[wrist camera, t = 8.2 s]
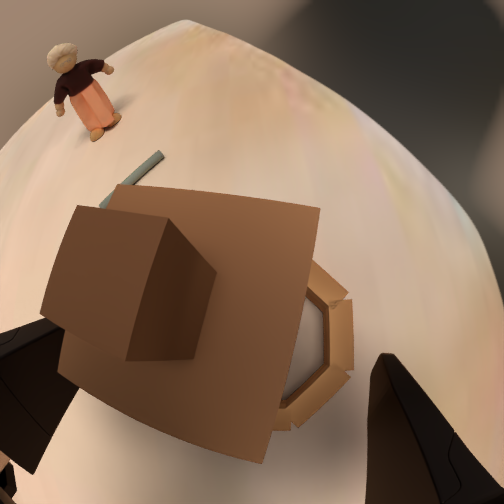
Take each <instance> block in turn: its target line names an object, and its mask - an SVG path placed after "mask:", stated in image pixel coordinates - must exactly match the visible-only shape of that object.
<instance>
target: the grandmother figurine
mask: <svg viewBox="0 0 504 504" xmlns="http://www.w3.org/2000/svg"><path fill="white" fill-rule="evenodd" d="M77 51H78V50H77V46H76V45H72V44H70V43H66V44H65V43H62V44H60V45H56V46H55V47H54V48H53V49H52V50H51V51H50V52H49V53H48V55H47V62H48V66H49V67H50V68H52V70H55V71H56V72H58V73H63V74H62V76H61V77H60V78H59V79H58V80H57V83H56V87H55V94H54V104H55V108H56V110H57V112H56V114H57V116H58V117H61V116H63V115H64V113H65V109H64V99H65V98H66V96H67V95H69V97H70V101H71V104H72V106H73V107H74V109H75V111H76V113H77V114H78V116H79V117H80V119H81V121H82V122H83V124H84V125H85V126H86V128H87V129H88V131H91V133H90V140H91V141H96V140H97V139H99V138H100V137H101V136H102V135H103V133H104V128H103V127H107V126H108V127H111V126H113V125H115V124H116V123H117V122H118V121H119V120H120V119H121V115H120V114H118V113H113V112H114V108H113V106H112V104H111V102H110V100H109V99H108V97H107V95H106V93H105V92H104V91H103V89H102V88H101V86H100V85H99V83H98V82H97V81H96V80H95V79H93V78H92V76H91V74H94V73H97V72H100V71H101V72H105V74H107V75H110V74H112V73H113V72H114V68H113V67H112V66H109V65H108V64H106V63H105V62H104V60H98V59H91V60H85V61H82V62H79V63H77V64H76V60H77V56H76V55H77Z"/></svg>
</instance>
